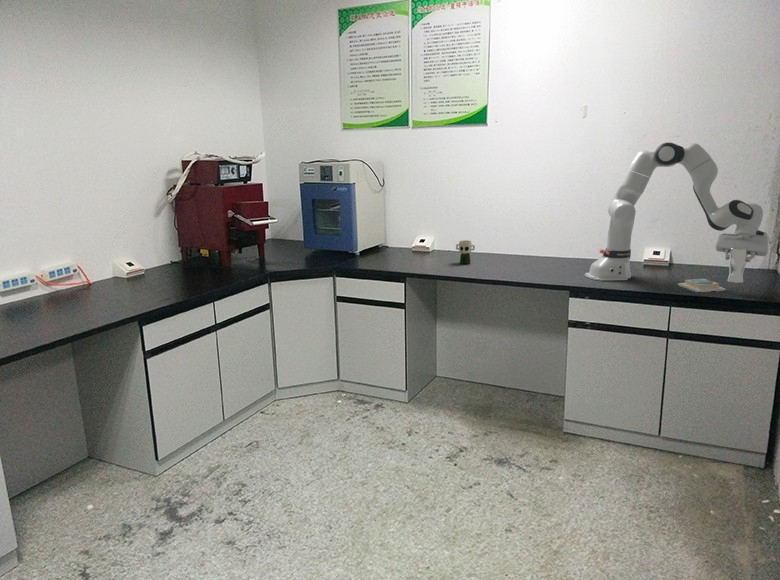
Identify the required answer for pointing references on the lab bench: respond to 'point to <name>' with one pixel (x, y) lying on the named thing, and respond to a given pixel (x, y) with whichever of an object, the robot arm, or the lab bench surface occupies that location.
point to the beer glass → (737, 265)
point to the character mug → (465, 250)
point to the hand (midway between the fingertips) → (737, 260)
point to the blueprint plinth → (701, 285)
